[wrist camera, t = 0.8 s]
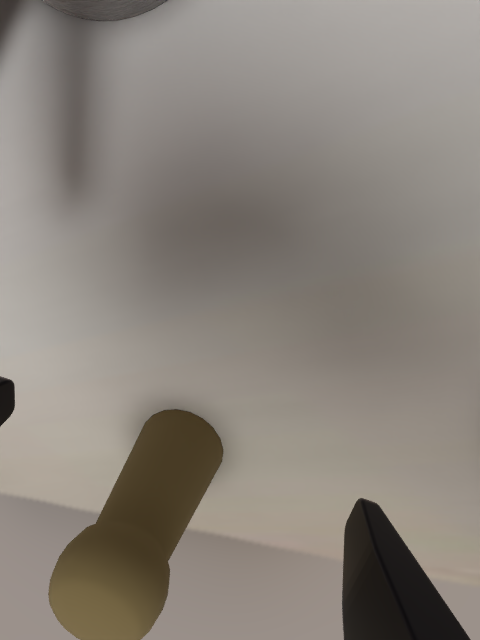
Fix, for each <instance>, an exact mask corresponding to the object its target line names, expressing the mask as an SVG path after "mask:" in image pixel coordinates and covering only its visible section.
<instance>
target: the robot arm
mask: <svg viewBox="0 0 480 640" xmlns="http://www.w3.org/2000/svg"><path fill="white" fill-rule="evenodd" d="M14 407H15V389H14V383H13V381H12V380H10V379H7V378H4V377H1V376H0V426H1V425H2V424H3V423H4V422H5V421H6V420H7V419H8V418H9V417H10V415H11V414H12V412H13V410H14ZM342 609H343V610H342V612H343V630H344V640H470V638H469V637H468V635H467V634H466V632H465V631H464V629H463V628H462V627H461V625H460V623H459V622H458V621H457V619H456V618H455V616H454V615H453V613H452V612H451V610H450V609H449V607H448V606H447V604H446V603H445V601H444V600H443V599H442V597H441V596H440V594H439V593H438V591H437V590H436V588H435V587H434V585H433V584H432V582H431V581H430V579H429V578H428V577H427V575H426V574H425V572H424V571H423V569H422V568H421V566H420V565H419V563H418V562H417V560H416V559H415V557H414V556H413V555H412V553H411V552H410V550H409V549H408V547H407V546H406V544H405V543H404V541H403V540H402V538H401V537H400V535H399V534H398V533H397V531H396V530H395V528H394V527H393V525H392V524H391V522H390V521H389V519H388V518H387V516H386V515H385V513H384V512H383V511H382V509H381V508H380V506H379V505H378V504H377V503H375V502H372V501H369V500H366V499H363V498H360V499H358V500H357V502H356V504H355V506H354V508H353V510H352V512H351V514H350V516H349V518H348V520H347V523H346V526H345V534H344V562H343V591H342Z"/></svg>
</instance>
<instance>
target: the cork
mask: <svg viewBox="0 0 480 640" xmlns="http://www.w3.org/2000/svg"><path fill="white" fill-rule="evenodd" d="M222 457H223V448H222V444H221V440H220V438H219V436H218V435H217V433H216V432H215V430H214V428H213V427H212V426H210V425H209V424H208V423H207V422H206V421H205V420H204V419H202V418H200V417H198V416H196V415H194V414H192V413H190V412H186V411H181V410H164V411H162V412H159V413H157V414H155V415H153V416H152V417H151V418H150V419H149V420H148V421H147V422H146V423H145V425H144V427H143V429H142V431H141V433H140V435H139V437H138V439H137V441H136V443H135V445H134V447H133V449H132V451H131V453H130V455H129V457H128V459H127V461H126V463H125V465H124V467H123V469H122V471H121V473H120V475H119V477H118V479H117V481H116V483H115V485H114V487H113V490H112V492H111V494H110V496H109V498H108V500H107V502H106V504H105V506H104V508H103V510H102V512H101V514H100V516H99V518H98V520H97V522H96V524H94V525H91V526H89V527H87V528H86V529H84V530H83V531H82V532H81V533H80V534H79V535H78V536H77V537H76V538H74V539H73V540H72V541H71V542H70V543H69V544H68V545H67V547H66V548H65V549H64V551H63V552H62V554H61V555H60V556H59V559H58V561H57V563H56V566H55V568H54V571H53V573H52V577H51V579H50V586H49V594H48V595H49V602H50V606H51V608H52V610H53V612H54V614H55V616H56V618H57V620H58V621H59V622H60V623H61V625H62V626H63V627H64V628H65V629H66V630H67V631H68V632H70V633H71V634H72V635H74V636H75V637H76V638H78V639H80V640H140V639H142V638H143V637H144V636H145V635H146V634H147V633H148V632H149V631H150V629H151V628H152V626H153V625H154V623H155V621H156V619H157V618H158V616H159V615H160V613H161V611H162V610H163V607H164V604H165V601H166V598H167V595H168V587H169V577H170V568H169V564H168V560H169V559H170V556H171V555H172V553H173V551H174V549H175V547H176V546H177V544H178V542H179V540H180V538H181V536H182V534H183V533H184V531H185V529H186V527H187V525H188V523H189V522H190V520H191V518H192V516H193V514H194V512H195V510H196V509H197V507H198V505H199V503H200V501H201V499H202V497H203V496H204V494H205V492H206V490H207V488H208V486H209V484H210V483H211V481H212V479H213V477H214V475H215V473H216V471H217V470H218V468H219V466H220V464H221V462H222Z"/></svg>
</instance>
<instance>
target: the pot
mask: <svg viewBox="0 0 480 640" xmlns="http://www.w3.org/2000/svg"><path fill="white" fill-rule="evenodd" d="M42 1H43V2H45V3H46V4H48V5H49V6H51V7H53V8H55V9H57V10H59V11H62V12H64V13H66V14H69V15H72V16H76V17H79V18H82V19H89V20H97V21H109V20H120V19H125V18H129V17H134V16H137V15H139V14H142V13H144V12H147V11H149V10H152V9H154V8H155V7H157V6H159V5H160V4H162V3H163V2H165V1H167V0H42Z"/></svg>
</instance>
